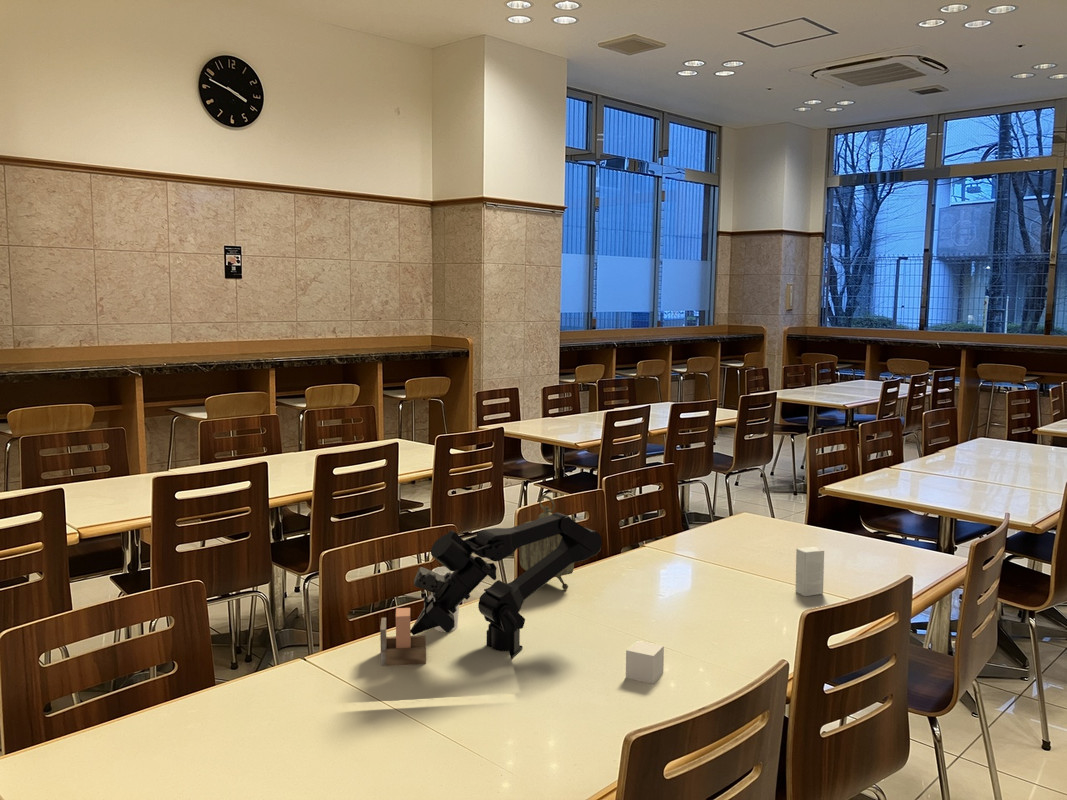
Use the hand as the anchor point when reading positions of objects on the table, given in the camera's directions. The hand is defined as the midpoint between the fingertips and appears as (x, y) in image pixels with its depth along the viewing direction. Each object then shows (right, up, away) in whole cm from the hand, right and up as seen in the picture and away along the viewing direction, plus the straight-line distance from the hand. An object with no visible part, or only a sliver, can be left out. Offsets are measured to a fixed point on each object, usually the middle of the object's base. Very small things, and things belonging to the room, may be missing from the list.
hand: (411, 633), depth 187 cm
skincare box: (+99, -2, +46) cm, 110 cm away
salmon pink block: (-2, -5, 0) cm, 6 cm away
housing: (-1, -7, +1) cm, 7 cm away
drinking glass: (+6, -5, +18) cm, 19 cm away
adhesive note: (+49, -8, -5) cm, 50 cm away
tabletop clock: (+29, -1, +51) cm, 59 cm away
